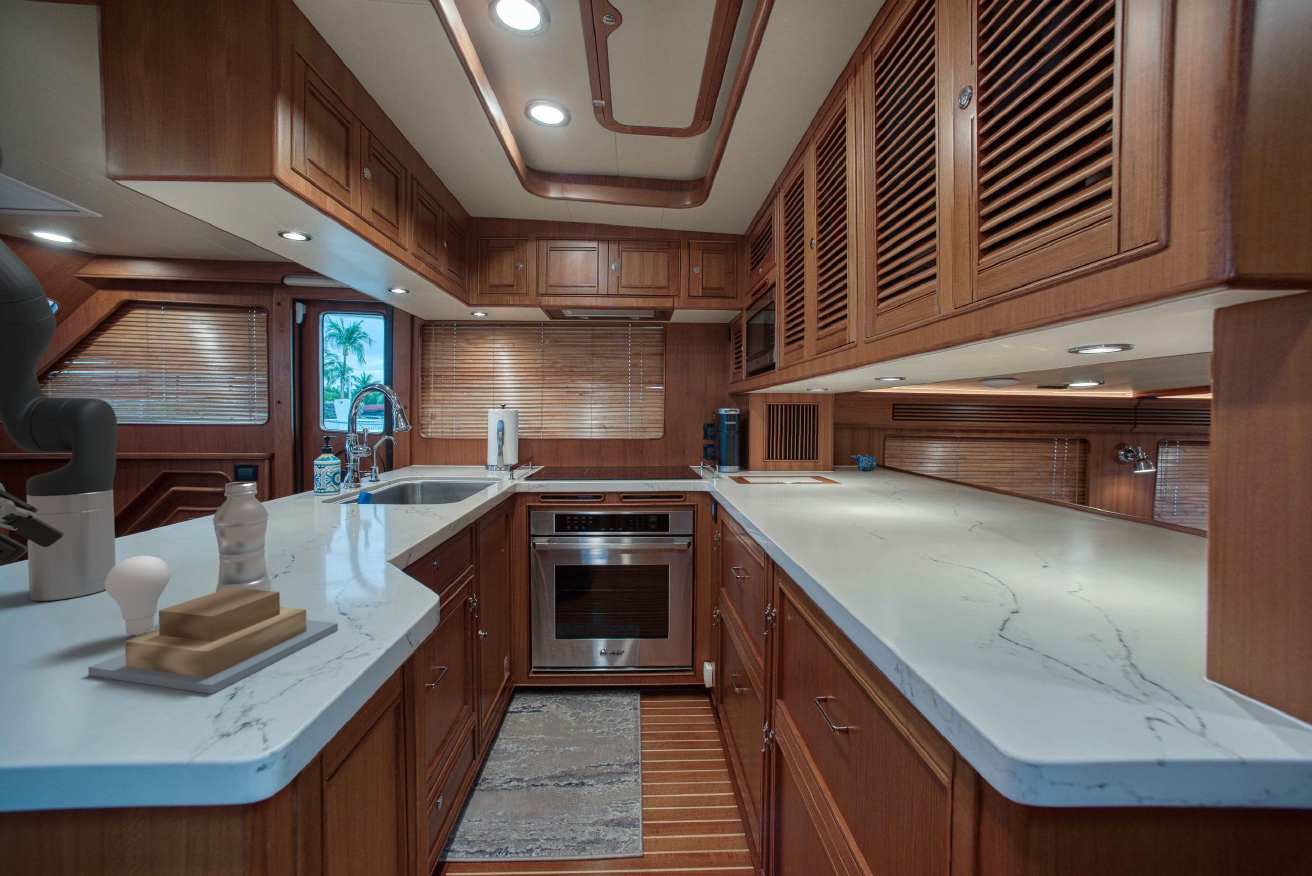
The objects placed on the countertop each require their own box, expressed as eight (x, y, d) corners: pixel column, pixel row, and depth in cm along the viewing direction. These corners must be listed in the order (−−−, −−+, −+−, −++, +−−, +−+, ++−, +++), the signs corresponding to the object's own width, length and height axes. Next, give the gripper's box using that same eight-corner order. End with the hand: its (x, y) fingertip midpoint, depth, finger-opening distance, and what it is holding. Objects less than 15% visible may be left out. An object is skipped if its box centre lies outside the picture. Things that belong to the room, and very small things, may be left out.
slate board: (88, 675, 54) (88, 667, 54) (235, 618, 70) (235, 612, 70) (212, 694, 51) (211, 685, 51) (337, 630, 67) (337, 623, 67)
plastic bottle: (281, 601, 77) (279, 480, 76) (241, 619, 70) (238, 486, 69) (246, 600, 77) (243, 480, 77) (202, 617, 71) (199, 485, 70)
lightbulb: (167, 621, 69) (165, 548, 68) (176, 633, 65) (174, 555, 65) (103, 637, 64) (101, 557, 63) (109, 650, 60) (106, 566, 60)
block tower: (125, 666, 55) (124, 615, 54) (235, 623, 66) (234, 581, 66) (207, 678, 52) (206, 625, 52) (306, 631, 64) (305, 588, 64)
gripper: (-138, 440, 48) (41, 537, 55) (-43, 436, 60) (94, 516, 67) (-233, 496, 45) (-32, 590, 52) (-114, 480, 57) (37, 558, 64)
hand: (38, 548), depth 59 cm, fingers open, 8 cm apart
